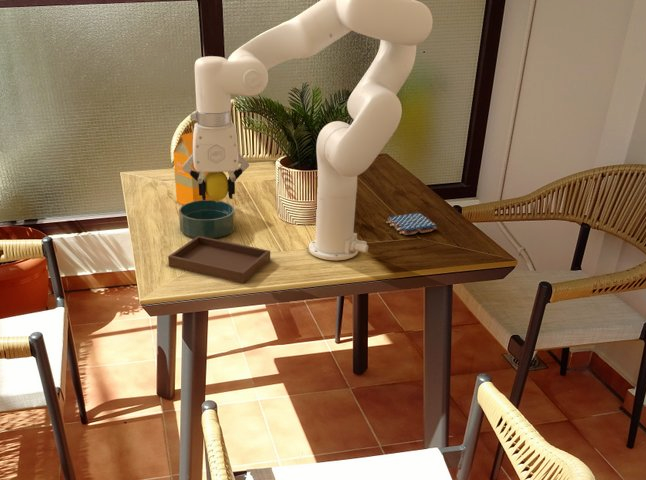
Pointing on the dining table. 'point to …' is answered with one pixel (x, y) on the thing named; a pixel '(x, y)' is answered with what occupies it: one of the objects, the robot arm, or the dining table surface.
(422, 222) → the woven mat
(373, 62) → the robot arm
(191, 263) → the tray
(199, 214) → the bowl
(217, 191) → the lemon
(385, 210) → the dining table surface
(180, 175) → the orange juice
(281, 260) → the dining table surface
